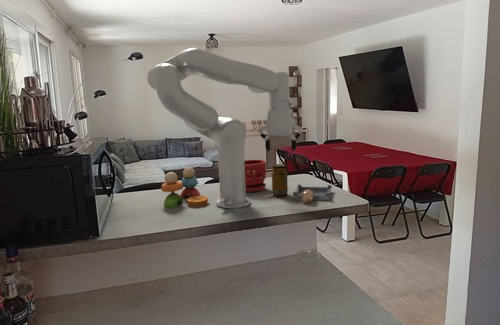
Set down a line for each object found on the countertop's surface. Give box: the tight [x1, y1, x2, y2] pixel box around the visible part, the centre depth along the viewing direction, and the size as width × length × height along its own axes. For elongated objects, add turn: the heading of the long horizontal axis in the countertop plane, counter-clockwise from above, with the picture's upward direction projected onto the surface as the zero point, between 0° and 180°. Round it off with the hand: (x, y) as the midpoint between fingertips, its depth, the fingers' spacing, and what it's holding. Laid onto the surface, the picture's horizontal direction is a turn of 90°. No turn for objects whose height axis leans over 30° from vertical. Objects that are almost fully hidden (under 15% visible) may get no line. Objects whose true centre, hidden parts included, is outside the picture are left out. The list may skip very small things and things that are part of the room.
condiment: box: [267, 163, 294, 199], centre depth 150 cm, size 7×8×12 cm
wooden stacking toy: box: [160, 166, 209, 209], centre depth 147 cm, size 18×17×12 cm
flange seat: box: [292, 184, 332, 205], centre depth 146 cm, size 18×14×4 cm
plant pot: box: [244, 159, 267, 193], centre depth 161 cm, size 13×13×12 cm
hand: (280, 150), depth 148 cm, fingers open, 9 cm apart
